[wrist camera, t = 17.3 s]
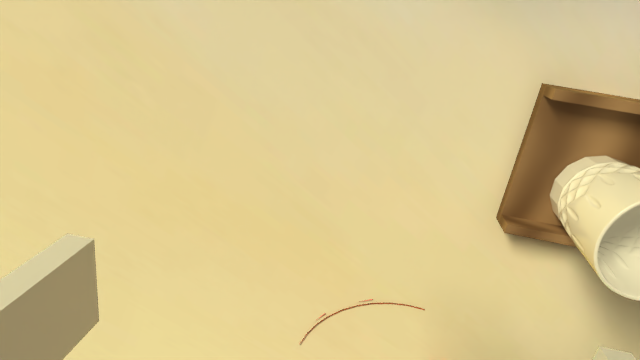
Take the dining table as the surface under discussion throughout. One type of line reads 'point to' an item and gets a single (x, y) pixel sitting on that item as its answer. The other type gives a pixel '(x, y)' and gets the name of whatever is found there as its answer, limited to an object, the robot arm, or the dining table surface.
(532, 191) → the brown wooden stand
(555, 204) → the white cup
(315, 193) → the dining table surface
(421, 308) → the figurine
